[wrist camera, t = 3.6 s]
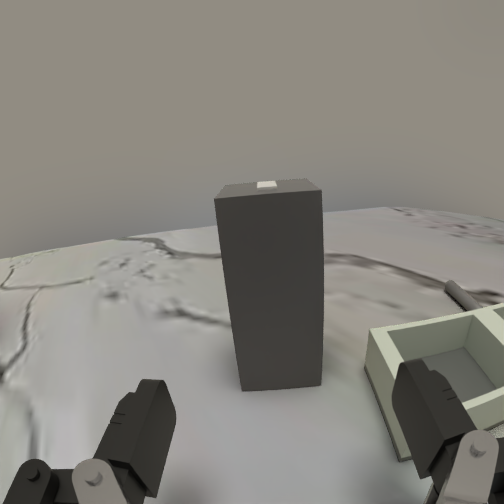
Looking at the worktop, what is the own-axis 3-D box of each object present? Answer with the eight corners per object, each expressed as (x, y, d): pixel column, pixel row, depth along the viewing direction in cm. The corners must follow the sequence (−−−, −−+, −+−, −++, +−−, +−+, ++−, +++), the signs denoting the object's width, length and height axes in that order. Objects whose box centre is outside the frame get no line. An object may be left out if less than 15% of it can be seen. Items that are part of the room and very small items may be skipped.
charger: (245, 345, 23) (225, 182, 19) (311, 340, 23) (306, 176, 19) (242, 391, 18) (213, 195, 14) (321, 385, 18) (321, 186, 14)
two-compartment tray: (337, 303, 27) (338, 271, 26) (486, 282, 26) (491, 254, 25) (399, 462, 11) (416, 425, 10) (586, 370, 10) (602, 335, 9)
